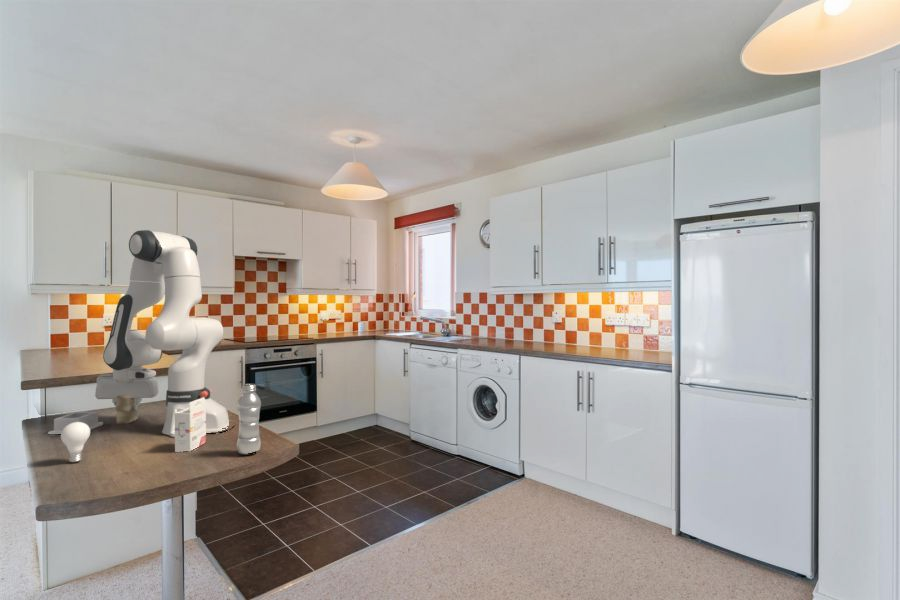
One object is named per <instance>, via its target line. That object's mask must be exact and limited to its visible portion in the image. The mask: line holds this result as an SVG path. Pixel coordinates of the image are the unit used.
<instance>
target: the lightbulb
mask: <svg viewBox="0 0 900 600" xmlns="http://www.w3.org/2000/svg"><path fill="white" fill-rule="evenodd" d="M90 436H91V430H90V428H89V426H88V425H87V424H85V423H83V422H73V423H70V424H68V425H67V426H66V427H65V428H64V429H63V430H62V432H61V435H60V440H61V441H62V443H63V444H64V445H65V446H66V447H67V452H68V454H69V458H68V461H69V462H70V463H73V464H75V463H78V462H80V461H81V460H82V459H83V457H82V455H83V450H84V447H85V446H84V445H85V444H86V442H87V441H88V440H89V438H90Z"/></svg>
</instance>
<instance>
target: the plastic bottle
mask: <svg viewBox="0 0 900 600" xmlns="http://www.w3.org/2000/svg"><path fill="white" fill-rule="evenodd" d="M241 387H242V390H241V392H242V394H241V395H240V397H239V399H238V400H237V402H236V406H237V413H238V422H239V423H238V426H239V427H238V434H237V435H238V436H237V437H238V438H237V441H236V450H237V452H238V453H239V454H240V455H249V454H248V453H252V452H255V451H258V450H259V451H260V449H261V443H262V442H261V436H260V427H259V423H260V421H259V420H260V413H261V405H262V401H261V399H260V397H259V395H258V394H257V392H256V391H257V385H256V384H255V383H245V384H242V386H241ZM259 451H258V452H259Z"/></svg>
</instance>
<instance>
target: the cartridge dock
mask: <svg viewBox="0 0 900 600" xmlns="http://www.w3.org/2000/svg"><path fill="white" fill-rule="evenodd" d="M73 422H83V423H85V424H87V425H88V426H89V428H90V431H92V430H93V429H96V428H98V427H101V426H103V425H104V421H99V411H79V412H76V411H75V412H71V413H69V414H66V415H65V414H64V415H63V416H62V415H61V416H60V417H56V418H54V419H53V430H50V431H48V432H47V435H48V434H61V432H62V430H63V429H64V428H65V427H66V426H67V425H68V424H70V423H73Z"/></svg>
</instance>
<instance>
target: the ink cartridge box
mask: <svg viewBox="0 0 900 600" xmlns="http://www.w3.org/2000/svg"><path fill="white" fill-rule="evenodd" d="M197 402H198V403H200V405H198V406H195V404H197ZM174 414H175V437H174V452H175V453H184V452H183V451H191V450H193V449H195V448H197V447H199V446H200V445H202V444H204V443H205V442H206V443H207V434H206V406H205V398H204V397H203V398H201V399H198V400H195V401H192V402H190V403H189V408H187V409H184V410H181V411H179V412H176V413H174ZM204 445H205V444H204ZM199 448H200V447H199ZM197 449H198V448H197ZM195 450H196V449H195ZM180 451H181V452H180Z"/></svg>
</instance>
